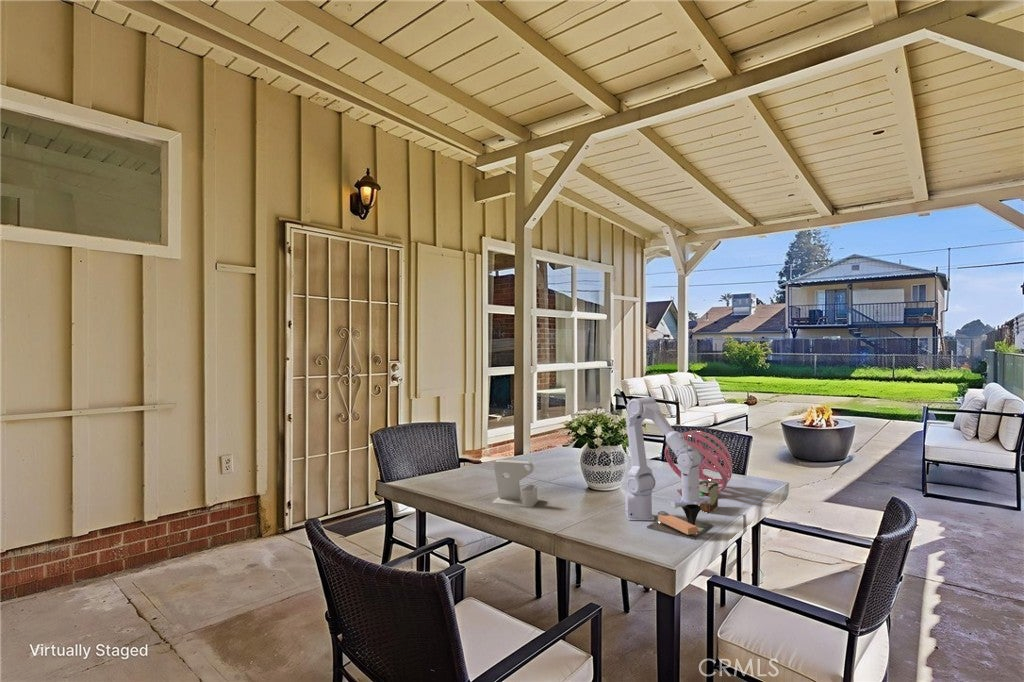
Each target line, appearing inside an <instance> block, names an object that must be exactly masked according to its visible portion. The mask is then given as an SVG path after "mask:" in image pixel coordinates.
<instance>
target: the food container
mask: <svg viewBox="0 0 1024 682" xmlns="http://www.w3.org/2000/svg"><path fill="white" fill-rule="evenodd" d="M719 485H720V484H718V481H714V480H699V492H700V496H707V497H710V503H703V504H699V506H700V507H701V510H702V511H701V510H700V511H701V512H703V511H704V512H703V513H705V512H707V513H706V514H709V513H710V514H711V513H713V512H714V511H715V510H717V509H718V508H719V494H718V489H719V487H720V486H719ZM717 507H718V508H717ZM714 509H715V510H714ZM713 510H714V511H713ZM712 511H713V512H712Z"/></svg>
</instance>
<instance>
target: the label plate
mask: <svg viewBox="0 0 1024 682" xmlns="http://www.w3.org/2000/svg"><path fill="white" fill-rule="evenodd" d="M673 516H674V517H677V518H679V519H681V520H683V521H686V522H688V520H687V518H684V517H680V516H675V515H673ZM695 526H697V527H698V533H694V534H689V535H688V534H685V533H683V532H681V531H679V530H677V529H675V528H673V527H671V526H669V525H666V524H664V523H662V522H660V521H658V518H657V519H656V520H655V521H654V522H651V523H650V524H649V525H647V526H646V529H649V530H654V531H657V532H661V533H665V534H668V535H669V534H670V535H673V534H674V536H677V535H678V537H681V536H682V537H683V538H685V537H686V538H685V539H689V538H691V539H690V540H693V539H694V540H695V539H696V538H698V537H700V536H701V535H702V534H704V533H705V532H706V531H708V530H710V529H711V528H712V527H713V524H711V523H708V522H702V521H699V520H696V521H695ZM710 527H711V528H710ZM703 532H704V533H703Z"/></svg>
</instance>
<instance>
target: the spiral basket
mask: <svg viewBox="0 0 1024 682" xmlns="http://www.w3.org/2000/svg"><path fill="white" fill-rule="evenodd" d="M681 433H682V434H683V436H684V439H685V440H686V441H687V443H688V444H689V445H690V446H691V447H692V448H693V449H696V450H698V451H699V452H700V454H701V456H702V457H703V456H704V458H702V463H701V464H700V465H699V480H701V481H704V480H714V481H718V484H719V485H721V486H719V487H718V495H719V494H720V493H722V492H723V490H724V491H725V488H726V487H727V485H728V483H729V481H730V480H731V478H732V476H733V467H732V466H733V460H732V456H731V453H730V452H729V449H727V447H726V446H725V444H724V443H723V441H722V440H720V439H719V438H717V437H716V436H715V435H713V434H710V433H709V432H704V431H701V430H689V431H686V432H685V431H684V432H680V434H681ZM704 436H706V437H707V438H706V437H704ZM689 437H690V438H694V442H692V441H690V440H689ZM708 438H709V439H711V440H712V441H714V442H715V443H717V444H718V445H719V446H720V447H721V448H722V449H723V450H722V449H721V448H719V446H717V445H716V444H715V443H714V442H712V441H711V440H709V439H708ZM704 444H706V445H707V446H709V447H710V448H709V449H708V448H707V447H706V446H705V445H704ZM669 448H670V447H669V445H668V444H667V443H666V445H665V448H664V455H665V459H666V462H667V463H668V465H669V467H670V468H671V469H672V470H673V472H674V473H675V474H676V475H677V476H678V477H679V478H680V479H681V471H680V468H678V467H677V465H676V463H674V461H673V459H672V458H671V456H670V452H669ZM713 450H714V451H715V452H713ZM673 453H674V452H673ZM674 456H675V457H676V460H677V459H678V457H677V456H676V454H675V453H674ZM719 461H723V463H724V464H723V466H722V464H721V463H720V462H719ZM705 469H706V470H709V471H712V472H715V473H718V474H719V475H720V477H721V478H714V477H712V476H709V475H706V474H705V473H704V470H705ZM676 492H677V493H678V494H682V487H681V488H680V489H679V488H678V489H677V490H676Z"/></svg>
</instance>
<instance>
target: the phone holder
mask: <svg viewBox="0 0 1024 682" xmlns="http://www.w3.org/2000/svg"><path fill="white" fill-rule="evenodd" d="M525 466H528V467H529V469H527V468H525ZM493 467H494V468H493V469H494V472H495V480H496V485H497V491H498V497H496V498H495V499H493V501H492V505H497V504H501V505H500V506H508V505H511V506H510V507H519V508H520V507H522V508H533V507H534V506H535V505H536V504H537V503H538V502H539V499H538V486H537V485H535V484H528V485H526V486H525V487H523V489H521V485H520V481H521V480H523V479H525V478H526V477H528V476H529V475H531V474H532V473H533V471H534V467H535V466H534V464H533V463H532V462H531V461H527V460H517V459H516V460H513V459H496V460H495V462H494V464H493ZM504 473H507V474H508V475H509V477H505V476H504Z"/></svg>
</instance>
